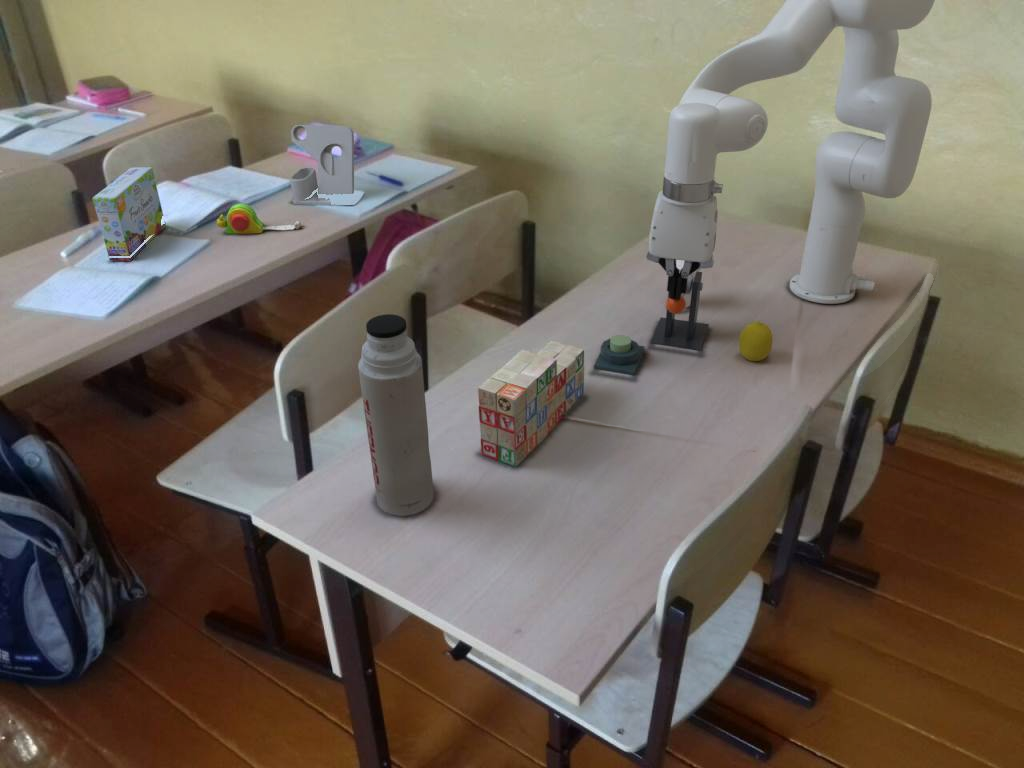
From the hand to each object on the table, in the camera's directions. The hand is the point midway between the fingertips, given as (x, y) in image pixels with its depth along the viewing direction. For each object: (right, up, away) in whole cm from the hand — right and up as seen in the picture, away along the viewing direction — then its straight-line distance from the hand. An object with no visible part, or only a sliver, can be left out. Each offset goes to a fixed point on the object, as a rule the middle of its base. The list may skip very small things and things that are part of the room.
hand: (676, 295), depth 136 cm
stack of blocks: (-24, -21, -6) cm, 32 cm away
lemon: (+15, -11, +8) cm, 20 cm away
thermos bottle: (-42, -31, -20) cm, 56 cm away
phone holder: (-76, +34, +81) cm, 116 cm away
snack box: (-115, +18, +58) cm, 130 cm away
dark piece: (-8, -11, +8) cm, 16 cm away
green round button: (-8, -9, +7) cm, 14 cm away
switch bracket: (+4, -6, +15) cm, 17 cm away
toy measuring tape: (-88, +22, +63) cm, 111 cm away
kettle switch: (+2, -1, +6) cm, 6 cm away
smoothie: (+6, 0, +25) cm, 26 cm away
